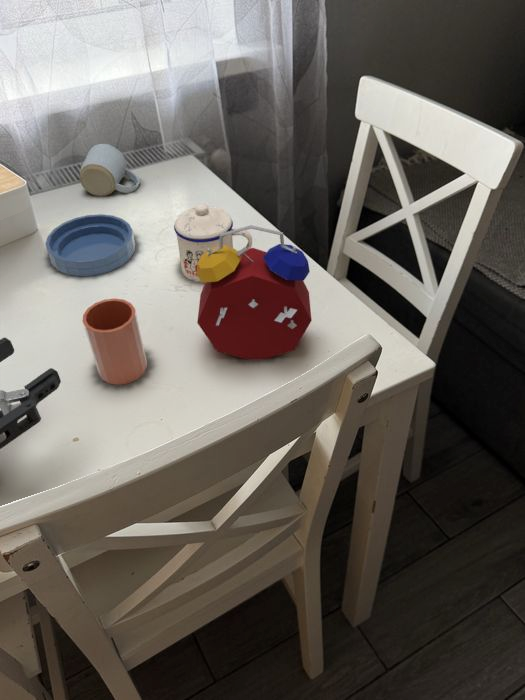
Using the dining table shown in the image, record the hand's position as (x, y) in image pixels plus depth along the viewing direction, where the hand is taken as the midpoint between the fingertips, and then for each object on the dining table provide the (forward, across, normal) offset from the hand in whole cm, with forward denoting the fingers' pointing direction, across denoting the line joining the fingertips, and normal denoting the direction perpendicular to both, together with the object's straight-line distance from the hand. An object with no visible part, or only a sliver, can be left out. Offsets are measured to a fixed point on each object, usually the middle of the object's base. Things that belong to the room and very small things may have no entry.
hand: (33, 359), depth 67 cm
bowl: (+28, +25, +11) cm, 39 cm away
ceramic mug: (+45, +40, +11) cm, 61 cm away
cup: (+11, 0, +11) cm, 16 cm away
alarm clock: (+25, -12, +12) cm, 30 cm away
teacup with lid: (+37, +5, +11) cm, 39 cm away
